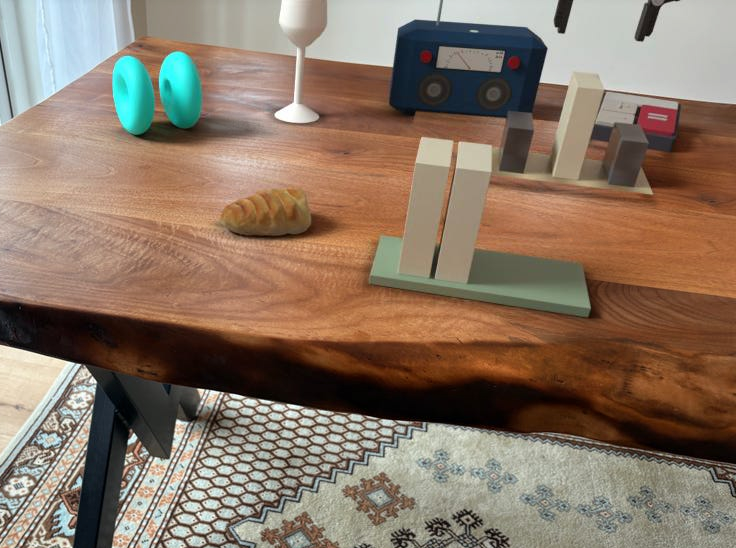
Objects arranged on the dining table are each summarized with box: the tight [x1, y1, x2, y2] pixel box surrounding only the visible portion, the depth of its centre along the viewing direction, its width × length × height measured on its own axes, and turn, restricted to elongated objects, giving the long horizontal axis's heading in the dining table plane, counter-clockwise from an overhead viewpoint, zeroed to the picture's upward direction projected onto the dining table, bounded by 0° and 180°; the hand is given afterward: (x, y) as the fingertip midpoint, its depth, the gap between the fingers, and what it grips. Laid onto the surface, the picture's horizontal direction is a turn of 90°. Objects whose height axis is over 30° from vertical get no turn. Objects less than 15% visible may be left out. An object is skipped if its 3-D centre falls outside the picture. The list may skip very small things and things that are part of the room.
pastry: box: [220, 185, 312, 237], centre depth 82 cm, size 9×7×4 cm
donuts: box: [112, 51, 203, 136], centre depth 104 cm, size 10×10×10 cm
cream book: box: [549, 71, 605, 180], centre depth 94 cm, size 3×7×11 cm, turn 166°
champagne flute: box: [274, 0, 328, 124], centre depth 107 cm, size 7×7×24 cm
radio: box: [388, 0, 549, 119], centre depth 112 cm, size 21×9×20 cm, turn 82°
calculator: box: [590, 91, 682, 154], centre depth 111 cm, size 11×4×15 cm
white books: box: [368, 136, 592, 318], centre depth 72 cm, size 20×9×12 cm, turn 76°
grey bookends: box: [491, 111, 654, 195], centre depth 96 cm, size 20×10×6 cm, turn 76°
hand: (599, 36), depth 88 cm, fingers open, 8 cm apart
